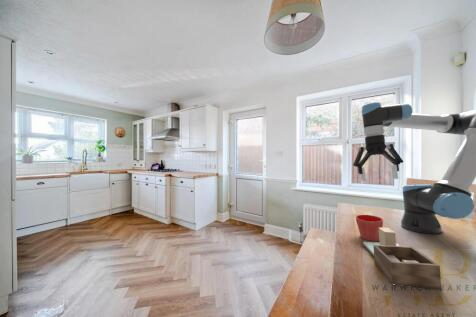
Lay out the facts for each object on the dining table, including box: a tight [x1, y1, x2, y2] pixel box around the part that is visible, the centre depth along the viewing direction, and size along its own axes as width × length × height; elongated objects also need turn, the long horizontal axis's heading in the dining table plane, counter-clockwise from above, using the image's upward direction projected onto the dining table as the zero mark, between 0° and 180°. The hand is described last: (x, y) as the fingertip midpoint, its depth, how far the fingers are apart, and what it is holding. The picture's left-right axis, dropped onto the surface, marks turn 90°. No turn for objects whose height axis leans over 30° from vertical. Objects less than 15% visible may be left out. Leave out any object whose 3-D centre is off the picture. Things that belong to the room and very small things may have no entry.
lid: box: [362, 227, 401, 256], centre depth 74 cm, size 13×13×10 cm
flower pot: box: [355, 214, 384, 242], centre depth 89 cm, size 11×11×10 cm
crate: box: [373, 245, 442, 291], centre depth 61 cm, size 12×12×7 cm
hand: (379, 179), depth 87 cm, fingers open, 13 cm apart
